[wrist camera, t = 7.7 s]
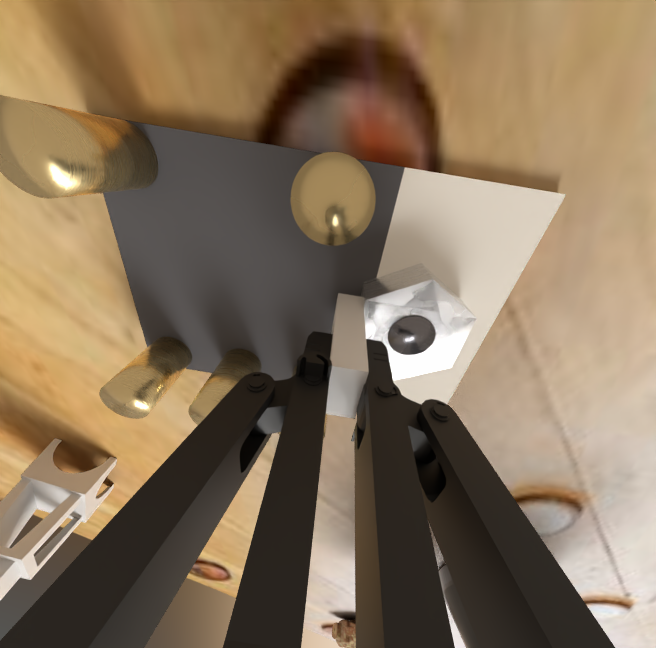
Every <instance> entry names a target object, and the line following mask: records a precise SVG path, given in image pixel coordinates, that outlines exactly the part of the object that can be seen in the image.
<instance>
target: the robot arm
mask: <svg viewBox="0 0 656 648" xmlns="http://www.w3.org/2000/svg"><path fill="white" fill-rule="evenodd" d="M356 413H357V423H356V426H355V429H354V432H353V436H352V440H351V441H354V439H355V595H356V648H455V647H454V642H453V637H452V633H451V628H450V623H449V618H448V614H447V609H446V604H445V601H446V603H447V606H448V608H449V610H450V612H451V615H452V617H453V619H454V621H455V624H456V626H457V628H458V630H459V633H460V635H461V637H462V639H463V642H464V644H465V646H466V648H615V647H614V645H613V644H612V642H611V641H610V639H609V638H608V636H607V635H606V633H605V632H604V631H603V629H602V628H601V626H600V625H599V623H598V622H597V620H596V619H595V617H594V616H593V614H592V613H591V611H590V610H589V608H588V607H587V605H586V604H585V603H584V601H583V600H582V598H581V597H580V595H579V594H578V592H577V591H576V589H575V588H574V586H573V585H572V583H571V582H570V580H569V579H568V578H567V576H566V575H565V573H564V572H563V570H562V569H561V567H560V566H559V564H558V563H557V561H556V560H555V558H554V557H553V555H552V554H551V552H550V551H549V550H548V548H547V547H546V545H545V544H544V542H543V541H542V539H541V538H540V536H539V535H538V533H537V532H536V530H535V529H534V527H533V526H532V525H531V523H530V522H529V520H528V519H527V517H526V516H525V514H524V513H523V511H522V510H521V508H520V507H519V505H518V504H517V502H516V501H515V499H514V498H513V497H512V495H511V494H510V492H509V491H508V489H507V488H506V486H505V485H504V483H503V482H502V480H501V479H500V477H499V476H498V474H497V473H496V472H495V470H494V469H493V467H492V466H491V464H490V463H489V461H488V460H487V458H486V457H485V455H484V454H483V452H482V451H481V449H480V448H479V447H478V445H477V444H476V442H475V441H474V439H473V438H472V436H471V435H470V433H469V432H468V430H467V429H466V427H465V426H464V424H463V423H462V421H461V420H460V419H459V417H458V416H457V414H456V413H455V411H454V410H453V409H452V408H451V407H450V406H448V405H447V404H445V403H444V402H441V401H439V400H435V399H429V400H425V401H424V402H423V403H422V405H421V404H419V403H417V402H414V401H412V400H410V399H408V398H406V397H404V396H403V395H401V392H400V390H399V388H398V387H397V386H396V385H395V384H394V383H393V377H392V372H391V367H390V362H389V357H388V351H387V348H386V346H385V345H384V344H383V342H382V341H376V340H370V339H366V330H365V318H364V307H363V297H360V296H353V295H347V294H341V293H338V297H337V303H336V309H335V314H334V320H333V326H332V332H331V334H329V333H323V332H317V331H313V332H312V333H311V334H310V335H309V336H308V338H307V342H306V346H305V349H304V353H303V354H302V355H301V356H300V357H299V358H298V360H297V369H296V375H294V376H293V377H291V378H288V379H284V380H276V381H274V379H273V378H272V377H271V376H270V375H268V374H266V373H262V372H253V373H250V374H247V375H245V376H244V377H243V378H241V379H240V380H239V381H238V383H237V384H236V385H235V386H234V387H233V388H232V389H231V390H230V391H229V392H228V393H227V395H226V396H225V397H224V398H223V399H222V400H221V401H220V402H219V403H218V404H217V405H216V406H215V408H214V409H213V410H212V411H211V412H210V413H209V414H208V415H207V416H206V417H205V418H204V420H203V421H202V422H201V423H200V424H199V425H198V426H197V427H196V428H195V429H194V430H193V432H192V433H191V434H190V435H189V436H188V437H187V438H186V439H185V440H184V441H183V442H182V444H181V445H180V446H179V447H178V448H177V449H176V450H175V451H174V452H173V453H172V454H171V455H170V457H169V458H168V459H167V460H166V461H165V462H164V463H163V464H162V465H161V466H160V467H159V469H158V470H157V471H156V472H155V473H154V474H153V475H152V476H151V477H150V478H149V479H148V481H147V482H146V483H145V484H144V485H143V486H142V487H141V488H140V489H139V490H138V491H137V492H136V494H135V495H134V496H133V497H132V498H131V499H130V500H129V501H128V502H127V503H126V504H125V506H124V507H123V508H122V509H121V510H120V511H119V512H118V513H117V514H116V515H115V516H114V518H113V519H112V520H111V521H110V522H109V523H108V524H107V525H106V526H105V527H104V528H103V530H102V531H101V532H100V533H99V534H98V535H97V536H96V537H95V538H94V539H93V540H92V541H91V543H90V544H89V545H88V546H87V547H86V548H85V549H84V550H83V551H82V552H81V553H80V555H79V556H78V557H77V558H76V559H75V560H74V561H73V562H72V563H71V564H70V565H69V567H68V568H67V569H66V570H65V571H64V572H63V573H62V574H61V575H60V576H59V577H58V579H57V580H56V581H55V582H54V583H53V584H52V585H51V586H50V587H49V588H48V589H47V591H46V592H45V593H44V594H43V595H42V596H41V597H40V598H39V599H38V600H37V601H36V602H35V604H34V605H33V606H32V607H31V608H30V609H29V610H28V611H27V612H26V613H25V614H24V616H23V617H22V618H21V619H20V620H19V621H18V622H17V623H16V624H15V625H14V626H13V627H12V629H11V630H10V631H9V632H8V633H7V634H6V635H5V636H4V637H3V638H2V640H1V641H0V648H144V647H145V645H146V644H147V642H148V640H149V639H150V637H151V635H152V634H153V632H154V630H155V628H156V627H157V625H158V623H159V622H160V620H161V618H162V617H163V615H164V613H165V612H166V610H167V608H168V607H169V605H170V603H171V602H172V600H173V598H174V597H175V595H176V593H177V592H178V590H179V588H180V587H181V585H182V583H183V582H184V580H185V578H186V577H187V575H188V573H189V572H190V570H191V568H192V567H193V565H194V563H195V562H196V560H197V558H198V557H199V555H200V553H201V552H202V550H203V548H204V547H205V545H206V543H207V542H208V540H209V538H210V537H211V535H212V533H213V532H214V530H215V528H216V527H217V525H218V523H219V522H220V520H221V518H222V517H223V515H224V513H225V512H226V510H227V508H228V507H229V505H230V503H231V502H232V500H233V498H234V497H235V495H236V493H237V492H238V490H239V488H240V487H241V485H242V483H243V482H244V480H245V478H246V477H247V475H248V473H249V472H250V470H251V468H252V467H253V465H254V463H255V462H256V460H257V458H258V457H259V455H260V453H261V452H262V450H263V448H264V447H265V445H266V443H267V442H268V440H269V438H270V437H271V435H272V433H277V432H281V433H280V437H279V441H278V444H277V448H276V452H275V456H274V459H273V463H272V467H271V470H270V474H269V478H268V482H267V485H266V489H265V493H264V497H263V500H262V504H261V508H260V512H259V515H258V519H257V523H256V526H255V530H254V534H253V538H252V541H251V545H250V549H249V553H248V556H247V560H246V564H245V567H244V571H243V575H242V579H241V582H240V586H239V590H238V594H237V597H236V601H235V605H234V609H233V612H232V616H231V620H230V624H229V627H228V631H227V635H226V638H225V642H224V645H223V648H301V642H302V633H303V623H304V614H305V604H306V595H307V586H308V576H309V567H310V557H311V548H312V539H313V529H314V520H315V510H316V501H317V492H318V482H319V473H320V463H321V454H322V444H323V435H324V426H325V416H326V414H329V415H335V416H341V417H348V418H354V419H355V416H356ZM427 518H428V519H427ZM428 521H429V523H430V525H431V528H432V530H433V533H434V535H435V538H436V540H437V543H438V545H439V548H440V550H441V553H442V555H443V558H444V560H445V562H446V565H444V566H443V567H442V568H441V569H440V570H439V571H438V566H437V561H436V557H435V552H434V547H433V542H432V538H431V533H430V528H429V523H428Z"/></svg>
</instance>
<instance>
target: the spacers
mask: <svg viewBox="0 0 656 648" xmlns="http://www.w3.org/2000/svg"><path fill="white" fill-rule="evenodd" d="M0 172H1V173H2V174H3V175H4V176H5V177H6V178H7V179H9V180H10V181H11V182H12V183H13V184H15V185H16V186H17V187H19V188H20V189H22V190H24V191H25V192H27V193H29V194H32V195H34V196H37V197H41V198H58V197H67V196H77V195H86V194H96V193H105V192H115V191H124V190H134V189H143V188H147V187H149V186H151V185H152V184H153V183H154V181H155V180H156V178H157V174H158V160H157V156H156V153H155V150H154V148H153V146H152V144H151V142H150V141H149V139H148V138H147V137H146V135H145V134H144V133H143V132H142V131H141V130H140V129H139V128H137V127H136V126H135V125H133V124H131V123H130V122H127V121H125V120H121V119H116V118H111V117H106V116H101V115H96V114H91V113H86V112H81V111H76V110H71V109H66V108H61V107H56V106H51V105H46V104H41V103H36V102H31V101H26V100H21V99H17V98H12V97H7V96H2V95H0ZM375 201H376V196H375V188H374V184H373V181H372V179H371V177H370V175H369V173H368V171H367V170H366V168H365V167H364V166H363V165H362V164H361V163H360V162H359V161H358V160H357V159H355V158H353V157H352V156H350V155H347V154H344V153H340V152H326V153H322V154H319V155H317V156H315V157H313V158H311V159H310V160H309V161H307V162H306V163H305V164H304V165H303V166H302V167H301V169H300V170H299V172H298V173H297V175H296V177H295V179H294V182H293V185H292V189H291V209H292V213H293V216H294V219H295V221H296V223H297V225H298V226H299V228H300V229H301V230H302V231H303V233H304V234H305V235H307V236H308V237H309V238H310V239H312V240H314V241H315V242H317V243H320V244H323V245H329V246H338V245H343V244H346V243H349V242H351V241H353V240H354V239H356V238H357V237H358V236H360V235H361V234H362V233H363V232H364V230H365V229H366V228H367V226H368V225H369V223H370V221H371V219H372V216H373V213H374V210H375ZM191 361H192V354H191V351H190V350H189V348H188V347H187V346H186V345H185V344H184V343H183V342H181V341H179V340H177V339H175V338H172V337H160V338H158V339H157V340H155V341H154V342H153V343H152V344H151V345H150V346H149V347H148V348H146V349H145V350H144V351H143V352H142V353H141V354H140V355H138V356H137V357H136V358H135V359H134V360H133V361H132V362H131V363H129V364H128V365H127V366H126V367H125V368H124V369H123V370H121V371H120V372H119V373H118V374H117V375H116V376H115V377H113V378H112V379H111V380H110V381H109V382H108V383H107V384H106V385H104V386H103V387H102V388H101V390H100V398H101V400H102V401H103V403H104V404H105V405H106V406H107V407H108V408H110V409H111V410H112V411H114V412H116V413H118V414H120V415H122V416H125V417H128V418H136V419H137V418H143V417H145V416H147V415H148V414H149V412H150V411H151V410H152V409H153V408H154V406H155V405H156V404H157V403H158V402H159V400H160V399H161V398H162V397H163V396H164V394H165V393H166V392H167V391H168V390H169V388H170V387H171V386H172V385H173V383H174V382H175V381H176V380H177V379H178V377H179V376H180V375H181V374H182V373H183V371H184V370H185V369H186V368H187V367H188V365H189V364H190V363H191ZM296 369H297V365H296V367H295V368H294V370H293V374H292V377H293V376H294V375H296ZM260 371H261V362H260V360H259V359H258V357H257V356H256V355H254V354H253V353H252V352H250V351H247V350H245V349H232V350H230V351H228V352H227V353H226V354H225V355H224V357H223V358H222V360H221V361H220V363H219V364H218V366H217V367H216V369H215V370H214V371H213V373H212V374H211V376H210V377H209V379H208V380H207V382H206V383H205V385H204V386H203V388H202V389H201V391H200V392H199V393H198V395H197V396H196V398H195V399H194V401H193V402H192V404H191V405H190V407H189V415H190V417H191V418H192V420H193V421H194V422H195V423H196V424H198V425H199V424H200V423H201V422H202V421H203V420H204V418H205V417H206V416H207V415H208V414H209V413H210V412H211V411H212V410H213V409H214V408H215V406H216V405H217V404H218V403H219V402H220V401H221V400H222V399H223V398H224V397H225V396H226V395H227V393H228V392H229V391H230V390H231V389H232V388H233V387H234V386H235V385H236V384H237V383H238V381H239V380H240V379H241V378H243V377H244V376H245V375H247V374H250V373H253V372H260ZM326 420H327V414H326V416H325V426H324V435H323V438H324V436H325V430H326ZM278 433H279V435H280V433H281V432H278Z"/></svg>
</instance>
